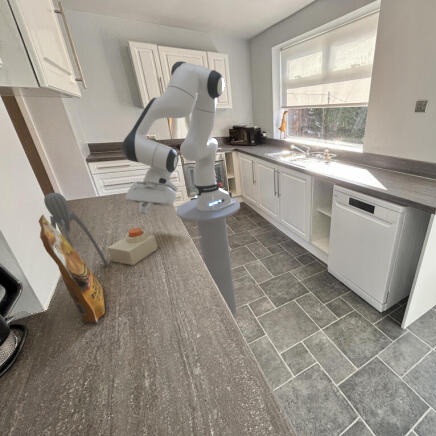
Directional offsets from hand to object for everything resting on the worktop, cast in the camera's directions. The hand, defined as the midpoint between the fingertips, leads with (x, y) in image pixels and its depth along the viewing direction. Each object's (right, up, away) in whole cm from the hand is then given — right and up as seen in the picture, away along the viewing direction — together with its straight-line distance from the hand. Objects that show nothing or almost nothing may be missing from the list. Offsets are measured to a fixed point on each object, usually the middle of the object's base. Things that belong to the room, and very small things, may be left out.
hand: (143, 213), depth 94 cm
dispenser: (-3, -16, 0) cm, 17 cm away
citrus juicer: (-11, -22, -13) cm, 28 cm away
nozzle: (-3, -8, -1) cm, 9 cm away
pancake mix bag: (0, -28, -25) cm, 37 cm away
